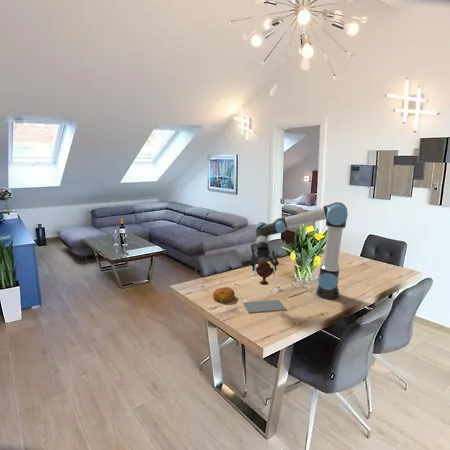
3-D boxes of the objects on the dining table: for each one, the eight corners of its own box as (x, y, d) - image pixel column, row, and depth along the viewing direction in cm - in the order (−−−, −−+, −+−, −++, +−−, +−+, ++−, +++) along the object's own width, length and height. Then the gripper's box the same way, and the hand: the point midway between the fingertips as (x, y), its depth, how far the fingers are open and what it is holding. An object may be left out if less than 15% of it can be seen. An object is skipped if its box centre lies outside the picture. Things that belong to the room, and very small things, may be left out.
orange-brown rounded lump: (236, 298, 229) (237, 286, 229) (231, 304, 214) (232, 292, 213) (215, 295, 233) (216, 283, 232) (209, 301, 217) (210, 289, 217)
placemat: (278, 300, 220) (278, 299, 220) (286, 310, 207) (286, 309, 207) (243, 303, 216) (243, 302, 216) (248, 313, 202) (248, 312, 202)
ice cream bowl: (272, 287, 204) (273, 263, 201) (254, 285, 206) (254, 262, 203) (273, 281, 214) (274, 258, 211) (256, 279, 216) (256, 257, 213)
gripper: (279, 247, 221) (282, 278, 209) (244, 247, 221) (245, 278, 209) (281, 241, 215) (284, 273, 203) (245, 241, 215) (246, 273, 203)
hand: (265, 275), depth 206 cm, fingers closed on ice cream bowl, 11 cm apart
